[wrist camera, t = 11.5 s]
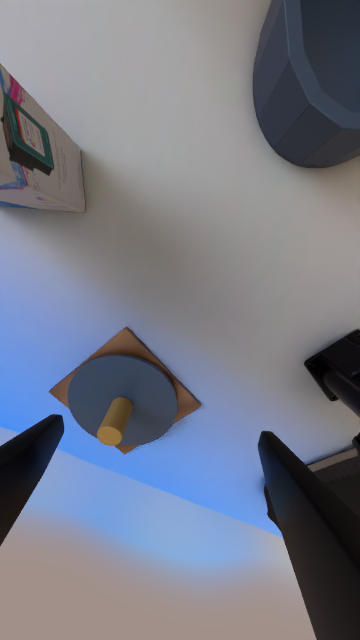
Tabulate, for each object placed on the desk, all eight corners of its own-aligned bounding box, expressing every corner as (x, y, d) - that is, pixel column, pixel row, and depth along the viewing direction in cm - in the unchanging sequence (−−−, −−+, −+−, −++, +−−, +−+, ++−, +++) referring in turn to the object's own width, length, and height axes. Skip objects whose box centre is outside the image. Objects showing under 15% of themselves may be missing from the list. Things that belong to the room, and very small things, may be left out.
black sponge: (279, 511, 29) (292, 546, 26) (255, 479, 27) (266, 512, 24) (390, 474, 26) (421, 507, 23) (373, 434, 24) (405, 464, 21)
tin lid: (199, 405, 23) (203, 445, 18) (124, 452, 26) (111, 497, 21) (125, 329, 20) (106, 352, 15) (50, 391, 23) (14, 427, 18)
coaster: (200, 404, 23) (201, 406, 23) (125, 451, 26) (124, 454, 26) (126, 326, 20) (125, 327, 20) (50, 389, 23) (48, 391, 23)
